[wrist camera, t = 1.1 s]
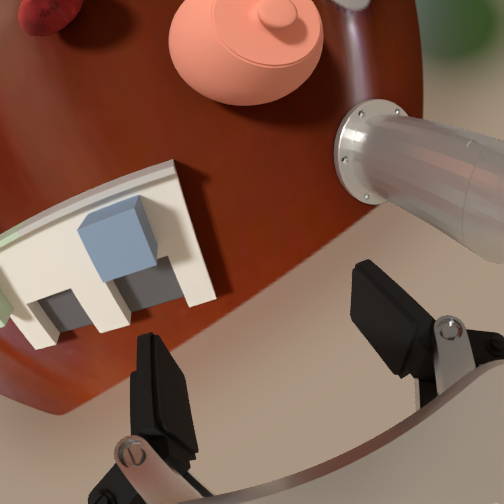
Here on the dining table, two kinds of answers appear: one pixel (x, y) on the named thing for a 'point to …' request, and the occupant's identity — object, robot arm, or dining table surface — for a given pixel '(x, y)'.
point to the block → (119, 239)
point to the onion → (47, 15)
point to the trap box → (84, 272)
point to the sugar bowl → (246, 47)
